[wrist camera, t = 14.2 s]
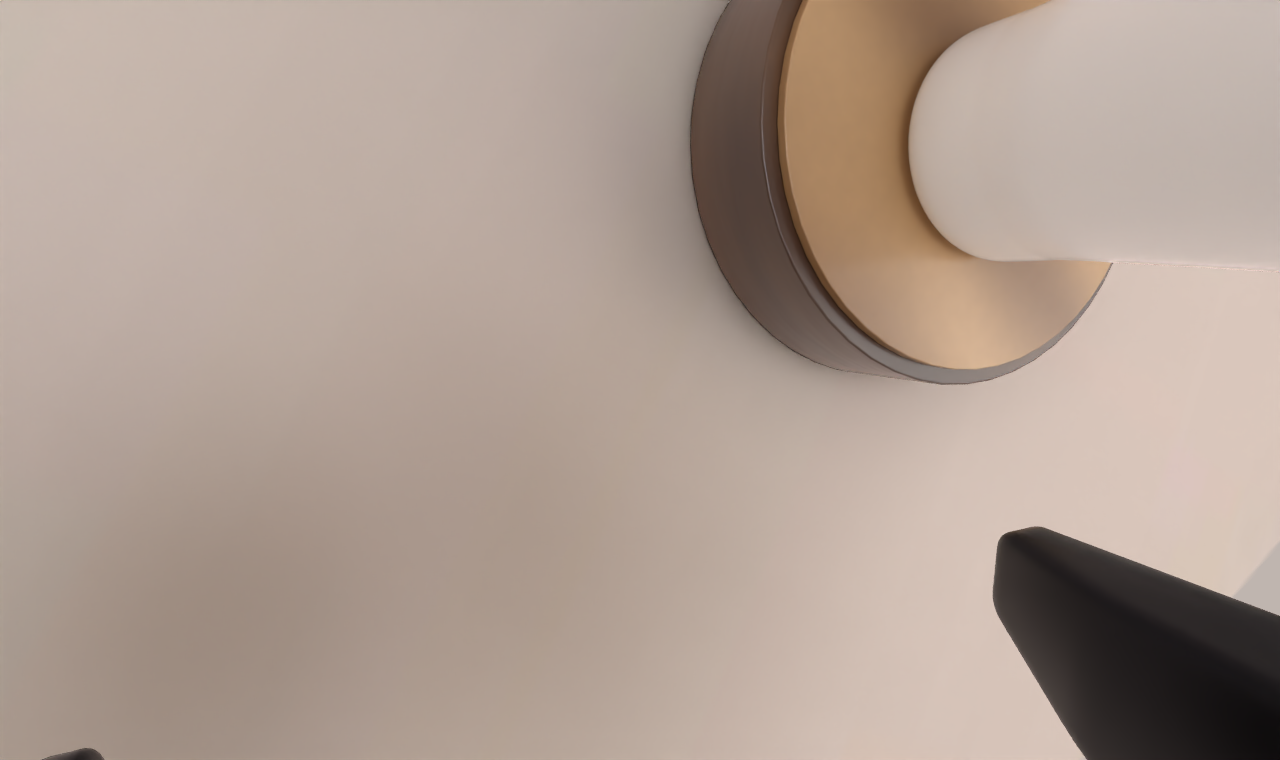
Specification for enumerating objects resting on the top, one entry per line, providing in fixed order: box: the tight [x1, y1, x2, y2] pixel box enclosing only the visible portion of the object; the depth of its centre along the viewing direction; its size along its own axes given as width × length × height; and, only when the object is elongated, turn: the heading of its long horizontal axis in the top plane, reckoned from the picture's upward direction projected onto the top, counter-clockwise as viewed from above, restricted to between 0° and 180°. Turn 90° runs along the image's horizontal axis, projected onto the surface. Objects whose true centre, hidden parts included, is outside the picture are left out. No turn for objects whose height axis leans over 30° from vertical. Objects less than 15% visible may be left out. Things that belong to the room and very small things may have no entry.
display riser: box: [691, 0, 1113, 385], centre depth 22 cm, size 12×12×4 cm
